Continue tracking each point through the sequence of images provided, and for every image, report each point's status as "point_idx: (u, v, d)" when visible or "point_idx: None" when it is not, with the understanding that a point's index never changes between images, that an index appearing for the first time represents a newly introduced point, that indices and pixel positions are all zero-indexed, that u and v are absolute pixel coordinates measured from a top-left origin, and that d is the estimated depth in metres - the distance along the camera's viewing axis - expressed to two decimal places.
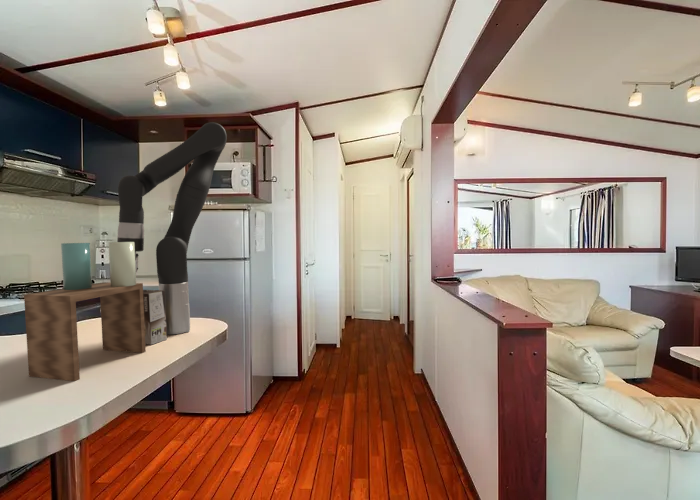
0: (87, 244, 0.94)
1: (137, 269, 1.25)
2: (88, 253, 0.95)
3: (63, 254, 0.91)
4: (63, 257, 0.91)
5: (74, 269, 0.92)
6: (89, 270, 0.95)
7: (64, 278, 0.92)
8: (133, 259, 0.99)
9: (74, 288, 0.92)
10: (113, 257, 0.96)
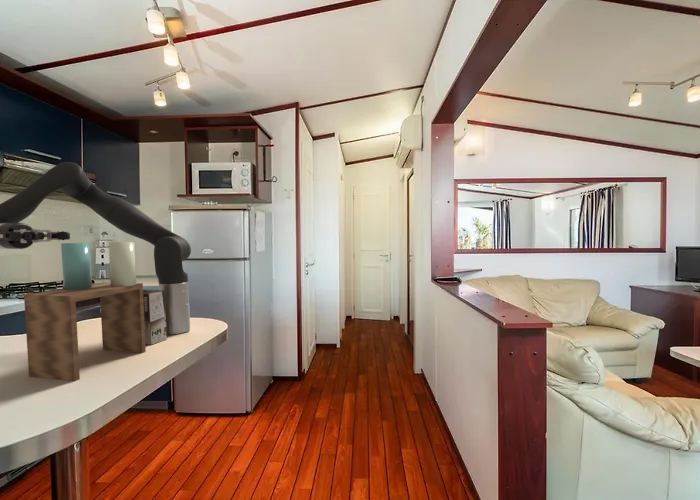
0: (87, 244, 0.94)
1: (63, 231, 1.07)
2: (88, 253, 0.95)
3: (63, 254, 0.91)
4: (63, 257, 0.91)
5: (74, 269, 0.92)
6: (89, 270, 0.95)
7: (64, 278, 0.92)
8: (133, 259, 0.99)
9: (74, 288, 0.92)
10: (113, 257, 0.96)
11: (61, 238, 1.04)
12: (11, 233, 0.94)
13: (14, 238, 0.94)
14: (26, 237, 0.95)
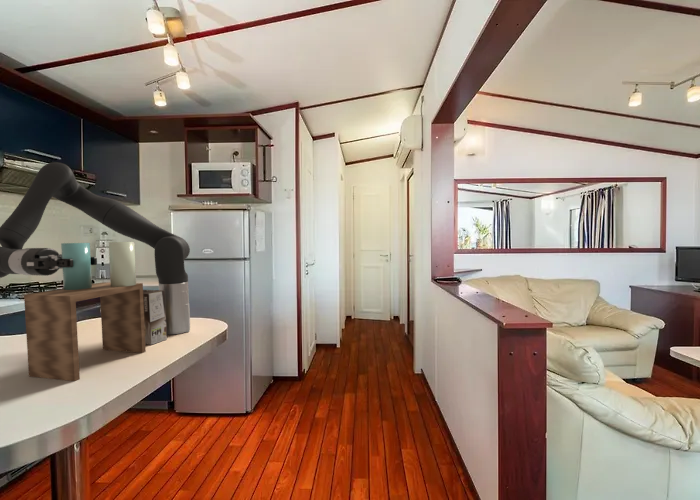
0: (87, 244, 0.94)
1: None
2: (88, 253, 0.94)
3: (63, 254, 0.91)
4: (63, 257, 0.91)
5: (74, 269, 0.92)
6: (89, 270, 0.95)
7: (64, 278, 0.92)
8: (133, 259, 0.99)
9: (74, 288, 0.92)
10: (113, 257, 0.96)
11: None
12: (46, 261, 0.89)
13: (48, 266, 0.89)
14: (61, 264, 0.90)
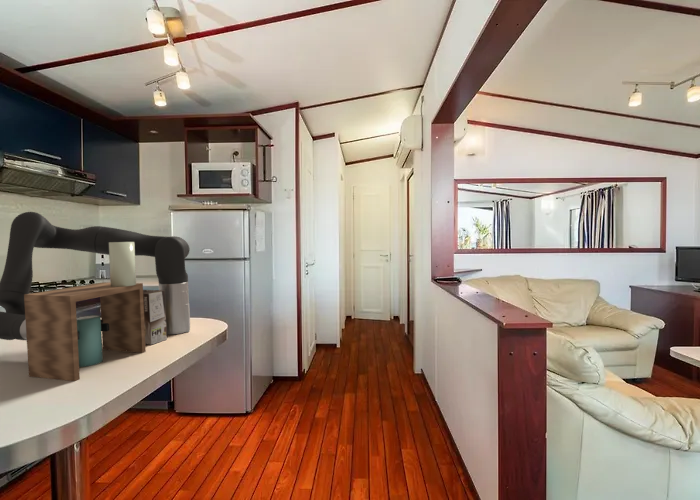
0: (98, 319, 0.95)
1: (101, 320, 1.01)
2: (99, 328, 0.95)
3: None
4: None
5: (85, 346, 0.92)
6: (100, 344, 0.95)
7: None
8: (133, 259, 0.99)
9: (85, 365, 0.92)
10: (113, 257, 0.96)
11: None
12: None
13: None
14: None
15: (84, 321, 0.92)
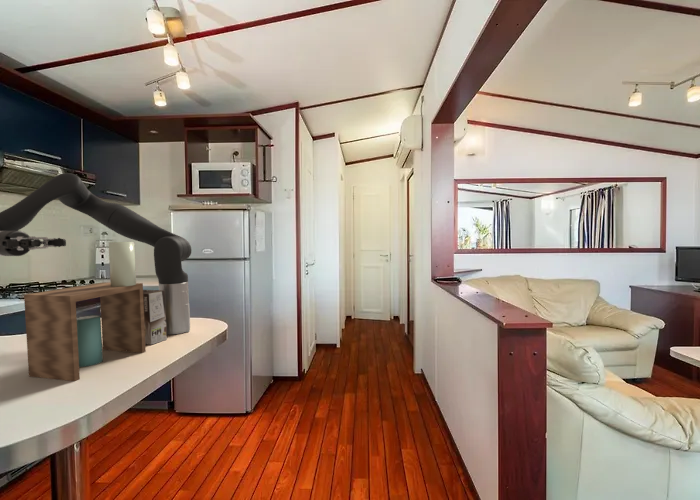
0: (98, 319, 0.95)
1: (59, 238, 1.09)
2: (99, 328, 0.95)
3: None
4: None
5: (85, 346, 0.92)
6: (100, 344, 0.95)
7: None
8: (133, 259, 0.99)
9: (85, 365, 0.92)
10: (113, 257, 0.96)
11: (57, 245, 1.06)
12: (8, 241, 0.96)
13: (11, 246, 0.96)
14: (23, 245, 0.97)
15: (84, 321, 0.92)
